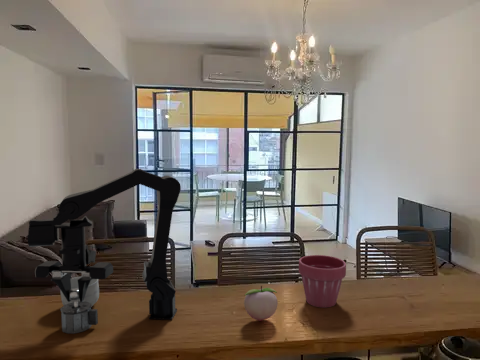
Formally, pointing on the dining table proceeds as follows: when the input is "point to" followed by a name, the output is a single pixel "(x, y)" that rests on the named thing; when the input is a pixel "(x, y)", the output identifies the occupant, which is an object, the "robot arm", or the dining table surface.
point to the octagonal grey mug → (78, 317)
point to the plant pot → (322, 279)
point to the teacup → (91, 292)
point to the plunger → (74, 296)
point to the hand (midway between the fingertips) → (75, 301)
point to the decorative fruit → (260, 303)
